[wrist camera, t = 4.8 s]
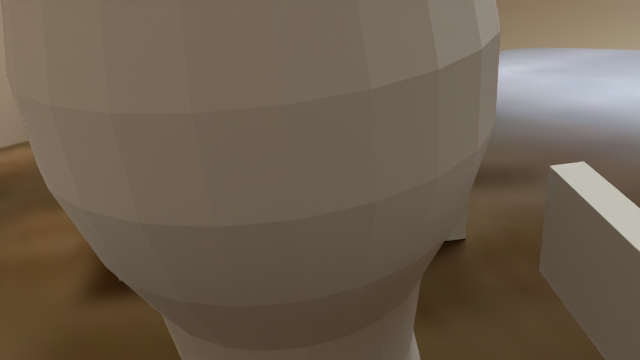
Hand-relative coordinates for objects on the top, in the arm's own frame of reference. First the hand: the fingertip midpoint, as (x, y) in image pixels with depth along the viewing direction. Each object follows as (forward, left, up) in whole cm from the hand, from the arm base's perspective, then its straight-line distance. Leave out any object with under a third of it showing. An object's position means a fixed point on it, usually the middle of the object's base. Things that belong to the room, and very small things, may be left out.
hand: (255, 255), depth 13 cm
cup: (-2, -2, -9) cm, 9 cm away
